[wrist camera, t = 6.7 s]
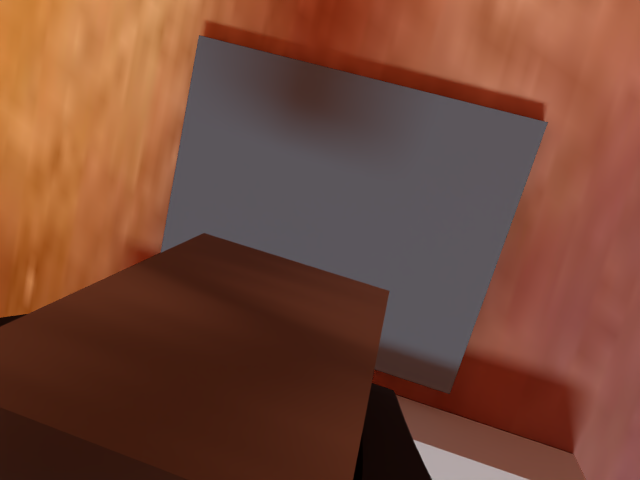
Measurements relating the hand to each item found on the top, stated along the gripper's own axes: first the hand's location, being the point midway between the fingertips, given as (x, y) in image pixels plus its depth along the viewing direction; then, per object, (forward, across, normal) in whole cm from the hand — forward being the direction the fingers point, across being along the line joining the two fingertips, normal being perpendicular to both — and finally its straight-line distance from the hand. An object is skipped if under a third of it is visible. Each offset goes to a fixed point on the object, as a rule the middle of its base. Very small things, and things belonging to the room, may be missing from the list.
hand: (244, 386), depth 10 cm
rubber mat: (+9, 0, -2) cm, 9 cm away
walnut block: (+2, 0, 0) cm, 2 cm away
